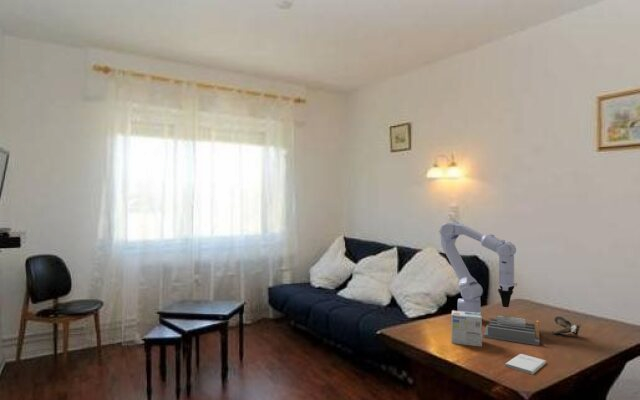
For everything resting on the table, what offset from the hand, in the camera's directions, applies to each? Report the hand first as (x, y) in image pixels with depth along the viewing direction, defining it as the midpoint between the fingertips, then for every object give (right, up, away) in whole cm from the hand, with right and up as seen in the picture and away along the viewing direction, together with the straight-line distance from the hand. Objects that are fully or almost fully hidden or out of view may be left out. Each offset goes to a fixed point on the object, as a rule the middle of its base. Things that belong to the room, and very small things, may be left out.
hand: (506, 304), depth 168 cm
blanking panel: (-3, -9, -10) cm, 13 cm away
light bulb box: (-23, -10, -17) cm, 30 cm away
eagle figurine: (+20, -10, -9) cm, 23 cm away
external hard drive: (-11, -10, -37) cm, 40 cm away
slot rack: (-2, -10, -10) cm, 14 cm away
